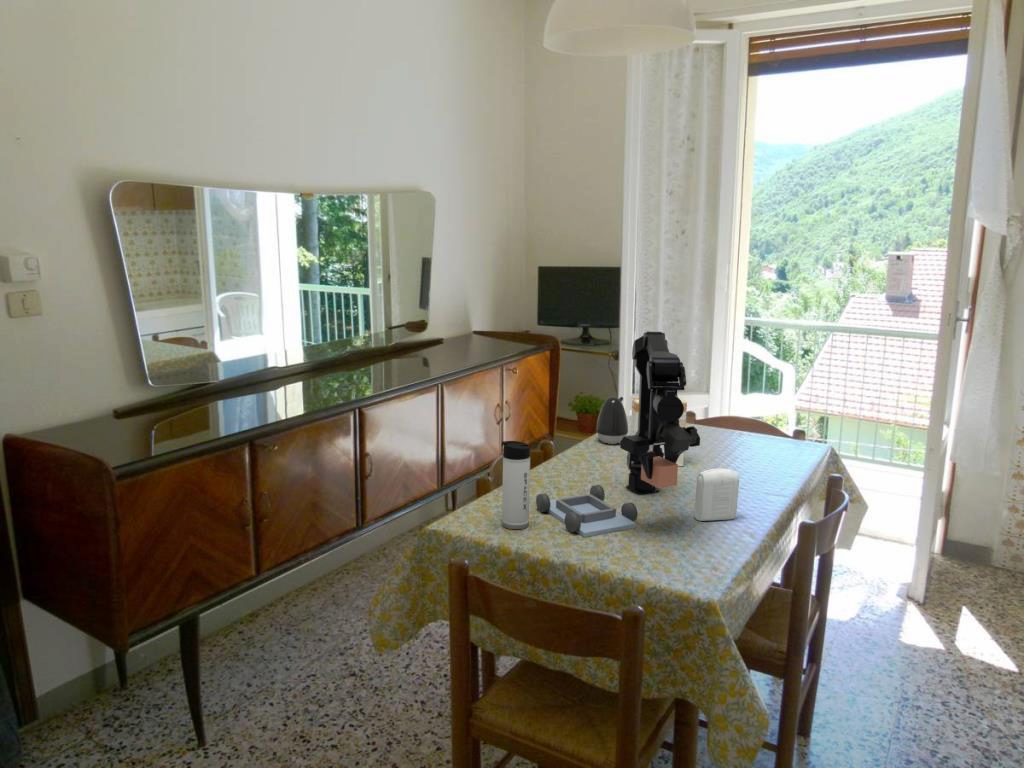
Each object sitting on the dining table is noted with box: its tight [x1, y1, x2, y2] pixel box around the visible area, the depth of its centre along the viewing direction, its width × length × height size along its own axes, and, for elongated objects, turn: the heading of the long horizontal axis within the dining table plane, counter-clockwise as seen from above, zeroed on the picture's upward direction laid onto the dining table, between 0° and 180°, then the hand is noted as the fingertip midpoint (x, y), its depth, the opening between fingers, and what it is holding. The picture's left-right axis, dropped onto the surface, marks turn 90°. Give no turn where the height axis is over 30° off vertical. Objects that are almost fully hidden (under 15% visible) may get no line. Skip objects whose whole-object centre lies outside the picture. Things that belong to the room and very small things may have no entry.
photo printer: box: [694, 467, 740, 522], centre depth 182 cm, size 10×4×12 cm, turn 103°
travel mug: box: [501, 440, 531, 530], centre depth 175 cm, size 6×7×20 cm
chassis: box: [535, 484, 639, 538], centre depth 182 cm, size 17×22×4 cm
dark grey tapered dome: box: [595, 396, 629, 445], centre depth 246 cm, size 10×10×15 cm
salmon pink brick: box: [641, 456, 679, 489], centre depth 175 cm, size 5×7×5 cm
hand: (658, 477), depth 175 cm, fingers closed on salmon pink brick, 5 cm apart
